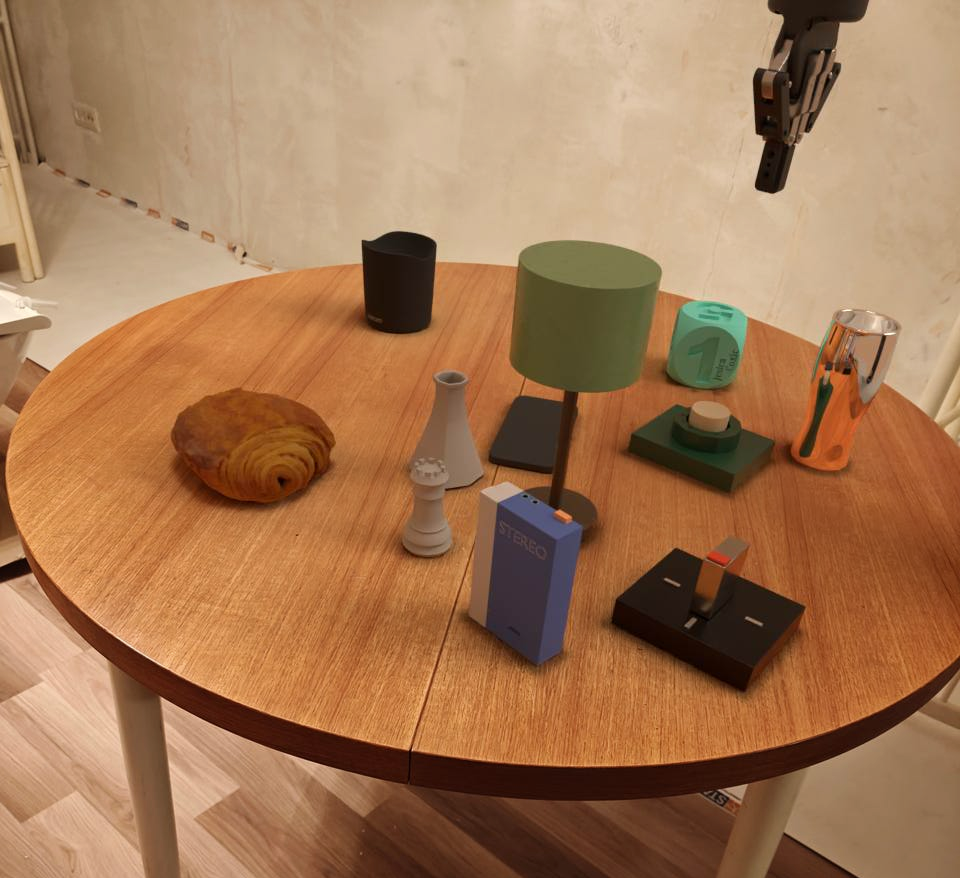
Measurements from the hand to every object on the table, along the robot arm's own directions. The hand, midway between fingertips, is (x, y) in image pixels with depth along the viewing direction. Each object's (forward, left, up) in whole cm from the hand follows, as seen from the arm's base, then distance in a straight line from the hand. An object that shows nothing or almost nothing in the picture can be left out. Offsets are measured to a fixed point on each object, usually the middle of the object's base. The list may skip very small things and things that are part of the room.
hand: (768, 190), depth 78 cm
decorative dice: (+10, -18, -26) cm, 34 cm away
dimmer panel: (-14, +26, -26) cm, 39 cm away
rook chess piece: (+10, +33, -26) cm, 43 cm away
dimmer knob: (-14, +26, -24) cm, 38 cm away
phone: (+15, +10, -26) cm, 32 cm away
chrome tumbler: (-10, -9, -26) cm, 30 cm away
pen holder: (+47, -3, -26) cm, 54 cm away
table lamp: (+4, +22, -26) cm, 34 cm away
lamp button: (0, 0, -23) cm, 23 cm away
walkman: (-3, +38, -26) cm, 46 cm away
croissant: (+31, +35, -26) cm, 53 cm away
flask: (+17, +22, -26) cm, 38 cm away
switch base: (0, 0, -26) cm, 26 cm away
